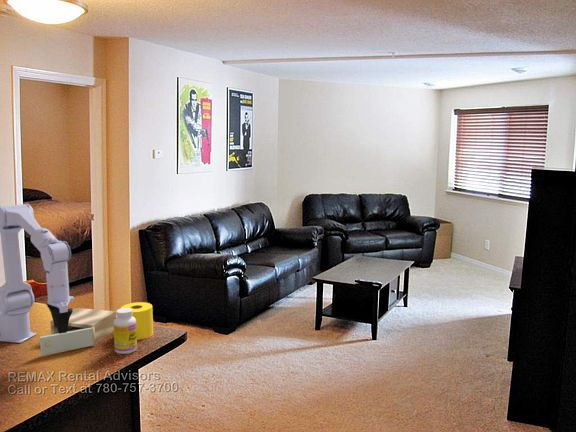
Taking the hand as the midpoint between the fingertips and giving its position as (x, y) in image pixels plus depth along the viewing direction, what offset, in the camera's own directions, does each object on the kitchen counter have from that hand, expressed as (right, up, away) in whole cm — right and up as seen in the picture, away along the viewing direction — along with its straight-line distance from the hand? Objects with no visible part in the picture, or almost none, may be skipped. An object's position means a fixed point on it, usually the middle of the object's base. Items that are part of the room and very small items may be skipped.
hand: (60, 329), depth 158 cm
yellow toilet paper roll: (+16, -6, +22) cm, 28 cm away
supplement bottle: (+17, -8, +9) cm, 20 cm away
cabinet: (-1, -6, +21) cm, 22 cm away
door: (-1, -8, +8) cm, 11 cm away
